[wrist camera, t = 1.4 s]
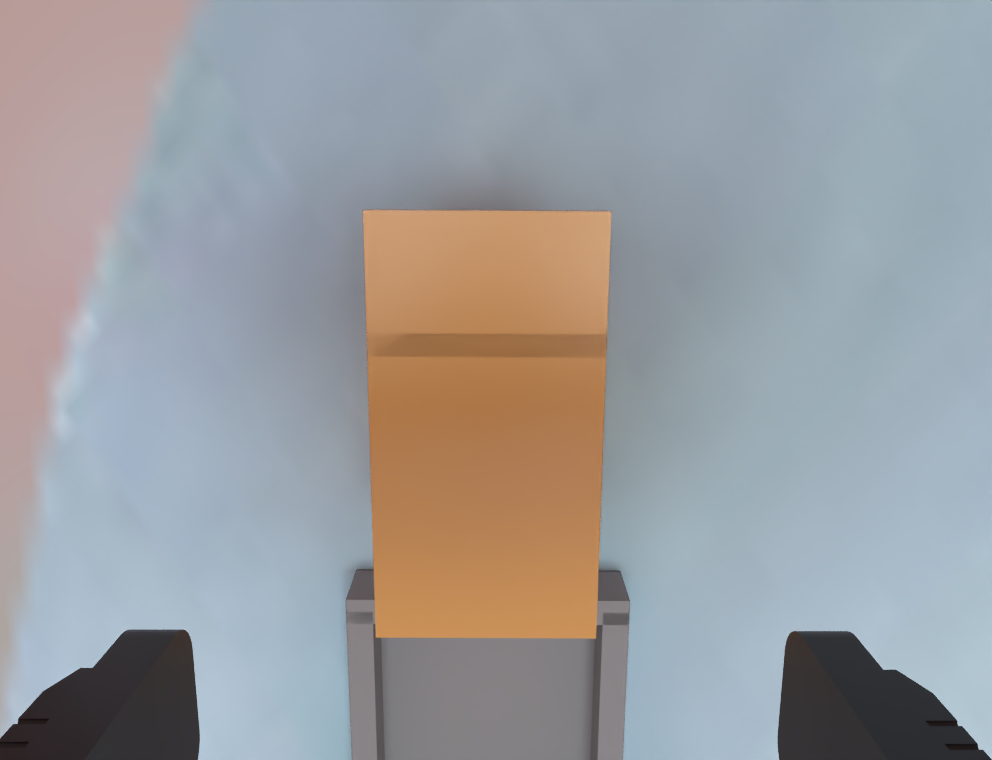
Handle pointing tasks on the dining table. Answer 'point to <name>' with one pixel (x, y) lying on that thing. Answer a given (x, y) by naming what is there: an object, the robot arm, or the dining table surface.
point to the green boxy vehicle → (488, 689)
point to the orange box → (486, 419)
